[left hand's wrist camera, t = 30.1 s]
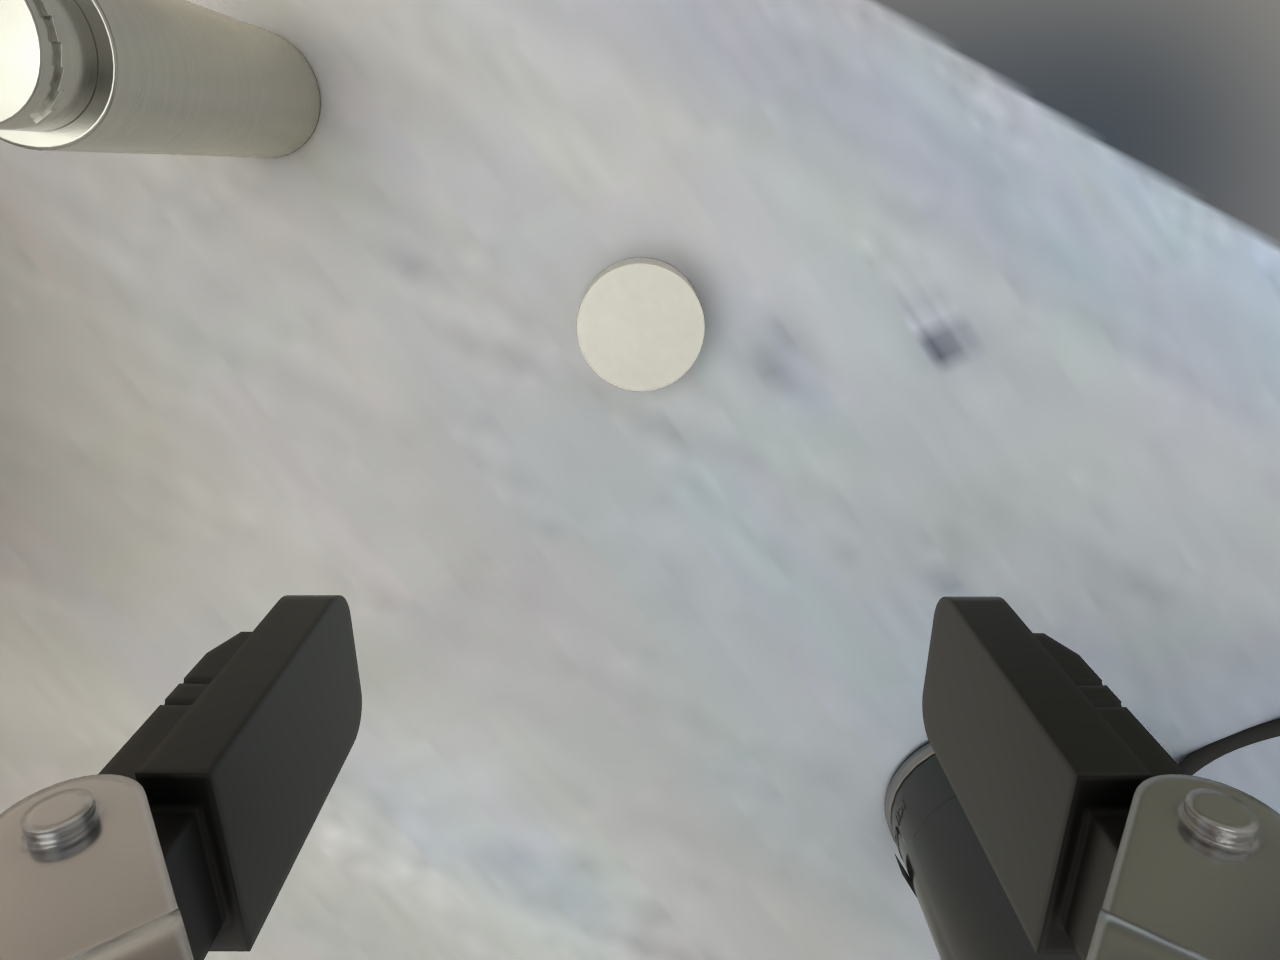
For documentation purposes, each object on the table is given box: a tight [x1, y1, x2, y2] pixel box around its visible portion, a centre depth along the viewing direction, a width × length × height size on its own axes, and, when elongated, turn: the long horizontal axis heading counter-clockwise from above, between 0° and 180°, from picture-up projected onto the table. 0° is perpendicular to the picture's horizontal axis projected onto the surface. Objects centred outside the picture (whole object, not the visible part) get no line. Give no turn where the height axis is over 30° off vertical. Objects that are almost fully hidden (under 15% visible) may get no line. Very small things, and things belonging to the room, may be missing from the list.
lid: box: [577, 258, 705, 391], centre depth 35 cm, size 5×5×2 cm
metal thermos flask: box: [0, 0, 320, 157], centre depth 26 cm, size 5×5×16 cm
